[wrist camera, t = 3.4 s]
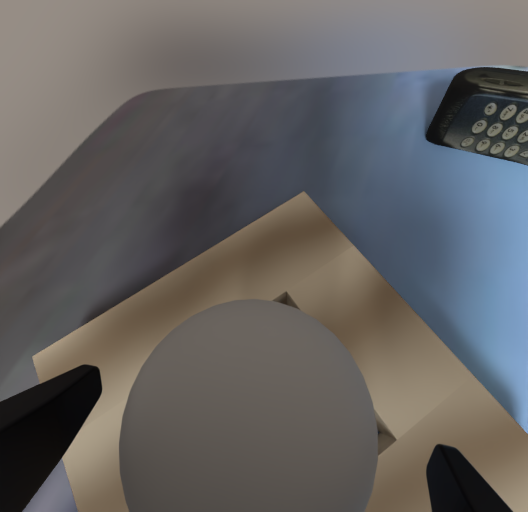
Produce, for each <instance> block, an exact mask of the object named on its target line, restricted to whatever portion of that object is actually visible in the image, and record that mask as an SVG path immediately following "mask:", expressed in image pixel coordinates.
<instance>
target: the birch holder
mask: <svg viewBox="0 0 528 512" xmlns="http://www.w3.org/2000/svg"><path fill="white" fill-rule="evenodd" d="M247 299H259V300H267V301H275V302H279V303H282V304H285V305H288V306H291V307H294V308H297V309H299V310H301V311H302V312H304V313H306V314H308V315H310V316H311V317H313V318H315V319H317V320H318V321H319V322H320V323H321V324H323V325H324V326H325V327H326V328H328V329H329V330H330V331H331V332H332V333H334V334H335V336H336V337H337V338H338V339H339V340H340V342H341V343H342V344H343V345H344V346H345V347H346V349H347V350H348V351H349V352H350V354H351V355H352V357H353V359H354V361H355V362H356V364H357V366H358V368H359V369H360V371H361V373H362V375H363V377H364V379H365V382H366V385H367V388H368V390H369V393H370V396H371V399H372V401H373V407H374V412H375V418H376V424H377V429H378V431H379V432H380V433H379V434H378V462H377V468H376V473H375V479H374V485H373V490H372V494H371V496H370V499H369V501H368V504H367V507H366V509H365V512H432V509H431V503H430V497H429V490H428V484H427V478H426V467H427V464H428V461H429V459H430V456H431V454H432V452H433V449H434V447H435V445H437V444H444V445H448V446H453V447H455V448H457V449H458V450H459V451H460V452H461V453H462V454H463V455H464V457H465V458H466V459H467V460H468V461H469V462H470V463H471V464H472V466H473V467H474V468H475V469H476V470H477V471H478V472H479V473H480V475H481V476H482V477H483V478H484V479H485V480H486V481H487V483H488V484H489V485H490V486H491V487H492V488H493V489H494V490H495V492H496V493H497V494H498V495H499V496H500V497H501V498H502V499H503V501H504V502H505V503H506V504H507V505H508V506H509V507H510V508H511V510H512V511H513V512H528V434H527V433H526V432H525V431H524V430H523V428H522V427H521V426H520V425H519V424H518V423H517V422H516V421H515V420H514V419H513V418H512V417H511V415H510V414H509V413H508V412H507V411H506V410H505V409H504V408H503V407H502V406H501V405H500V404H499V402H498V401H497V400H496V399H495V398H494V397H493V396H492V395H491V394H490V393H489V392H488V390H487V389H486V388H485V387H484V386H483V385H482V384H481V383H480V382H479V381H478V380H477V379H476V377H475V376H474V375H473V374H472V373H471V372H470V371H469V370H468V369H467V368H466V367H465V366H464V364H463V363H462V362H461V361H460V360H459V359H458V358H457V357H456V356H455V355H454V354H453V352H452V351H451V350H450V349H449V348H448V347H447V346H446V345H445V344H444V343H443V342H442V341H441V339H440V338H439V337H438V336H437V335H436V334H435V333H434V332H433V331H432V330H431V329H430V328H429V326H428V325H427V324H426V323H425V322H424V321H423V320H422V319H421V318H420V317H419V316H418V314H417V313H416V312H415V311H414V310H413V309H412V308H411V307H410V306H409V305H408V304H407V303H406V301H405V300H404V299H403V298H402V297H401V296H400V295H399V294H398V293H397V292H396V291H395V290H394V288H393V287H392V286H391V285H390V284H389V283H388V282H387V281H386V280H385V279H384V278H383V276H382V275H381V274H380V273H379V272H378V271H377V270H376V269H375V268H374V267H373V266H372V265H371V263H370V262H369V261H368V260H367V259H366V258H365V257H364V256H363V255H362V254H361V253H360V252H359V250H358V249H357V248H356V247H355V246H354V245H353V244H352V243H351V242H350V241H349V240H348V238H347V237H346V236H345V235H344V234H343V233H342V232H341V231H340V230H339V229H338V228H337V227H336V225H335V224H334V223H333V222H332V221H331V220H330V219H329V218H328V217H327V216H326V215H325V214H324V212H323V211H322V210H321V209H320V208H319V207H318V206H317V205H316V204H315V203H314V202H313V200H312V199H311V198H310V197H309V196H308V195H307V194H306V193H305V192H304V191H303V192H302V193H300V194H299V195H297V196H295V197H294V198H292V199H290V200H289V201H287V202H285V203H284V204H282V205H280V206H279V207H277V208H276V209H274V210H272V211H271V212H269V213H267V214H266V215H264V216H262V217H261V218H259V219H257V220H256V221H254V222H253V223H251V224H249V225H248V226H246V227H244V228H243V229H241V230H239V231H238V232H236V233H235V234H233V235H231V236H230V237H228V238H226V239H225V240H223V241H221V242H220V243H218V244H216V245H215V246H213V247H212V248H210V249H208V250H207V251H205V252H203V253H202V254H200V255H198V256H197V257H195V258H193V259H192V260H190V261H189V262H187V263H185V264H184V265H182V266H180V267H179V268H177V269H175V270H174V271H172V272H170V273H169V274H167V275H166V276H164V277H162V278H161V279H159V280H157V281H156V282H154V283H152V284H151V285H149V286H147V287H146V288H144V289H143V290H141V291H139V292H138V293H136V294H134V295H133V296H131V297H129V298H128V299H126V300H124V301H123V302H121V303H120V304H118V305H116V306H115V307H113V308H111V309H110V310H108V311H106V312H105V313H103V314H102V315H100V316H98V317H97V318H95V319H93V320H92V321H90V322H88V323H87V324H85V325H83V326H82V327H80V328H79V329H77V330H75V331H74V332H72V333H70V334H69V335H67V336H65V337H64V338H62V339H60V340H59V341H57V342H56V343H54V344H52V345H51V346H49V347H47V348H46V349H44V350H42V351H41V352H39V353H37V354H36V355H34V356H33V357H32V358H33V361H34V365H35V368H36V371H37V375H38V378H39V381H40V384H41V383H43V382H45V381H47V380H50V379H52V378H54V377H56V376H58V375H61V374H63V373H65V372H67V371H69V370H72V369H74V368H76V367H78V366H80V365H83V364H88V365H93V366H97V367H98V368H99V369H100V374H101V381H102V394H101V396H100V398H99V400H98V401H97V403H96V405H95V406H94V408H93V410H92V411H91V413H90V414H89V416H88V418H87V419H86V421H85V423H84V424H83V426H82V427H81V429H80V431H79V432H78V434H77V435H76V437H75V439H74V440H73V442H72V444H71V445H70V447H69V448H68V450H67V451H66V453H65V454H64V455H63V457H62V459H63V462H64V465H65V469H66V472H67V476H68V479H69V482H70V486H71V489H72V492H73V496H74V499H75V502H76V506H77V509H78V512H130V511H129V509H128V506H127V504H126V501H125V496H124V491H123V486H122V481H121V477H120V465H119V439H120V431H121V424H122V416H123V413H124V409H125V406H126V403H127V399H128V396H129V393H130V390H131V388H132V385H133V383H134V381H135V379H136V377H137V375H138V373H139V371H140V369H141V367H142V365H143V364H144V363H145V361H146V360H147V358H148V357H149V356H150V354H151V353H152V351H153V350H154V348H155V347H156V346H157V345H158V344H159V343H160V342H161V341H162V340H163V339H164V338H165V337H166V336H167V335H168V334H169V333H170V332H171V331H172V330H173V329H174V328H175V327H177V326H178V325H180V324H181V323H183V322H184V321H185V320H187V319H188V318H190V317H191V316H193V315H195V314H197V313H199V312H201V311H203V310H206V309H208V308H210V307H212V306H215V305H218V304H222V303H226V302H230V301H234V300H247Z"/></svg>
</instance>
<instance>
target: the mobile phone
mask: <svg viewBox="0 0 528 512" xmlns="http://www.w3.org/2000/svg"><path fill="white" fill-rule="evenodd" d="M426 139H427V140H428V141H429V142H432V143H434V144H437V145H441V146H446V147H451V148H455V149H459V150H464V151H468V152H473V153H477V154H482V155H486V156H490V157H495V158H499V159H504V160H508V161H513V162H517V163H521V164H524V165H528V72H527V71H519V70H511V69H503V68H492V67H479V68H472V69H467V70H464V71H462V72H460V73H458V74H456V75H455V76H454V78H453V80H452V82H451V84H450V86H449V87H448V89H447V91H446V93H445V96H444V98H443V100H442V102H441V104H440V106H439V108H438V110H437V112H436V114H435V116H434V118H433V120H432V122H431V124H430V126H429V128H428V130H427V134H426Z"/></svg>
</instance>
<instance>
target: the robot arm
mask: <svg viewBox="0 0 528 512" xmlns="http://www.w3.org/2000/svg"><path fill="white" fill-rule="evenodd" d="M101 394H102V381H101V374H100V369H99V368H98V367H97V366H93V365H88V364H83V365H80V366H78V367H76V368H74V369H72V370H69V371H67V372H65V373H63V374H61V375H58V376H56V377H54V378H52V379H50V380H47V381H45V382H43V383H41V384H39V385H36V386H34V387H32V388H30V389H28V390H25V391H23V392H21V393H19V394H17V395H14V396H12V397H10V398H8V399H6V400H3V401H1V402H0V512H22V511H23V510H24V508H25V507H26V506H27V504H28V503H29V502H30V500H31V499H32V498H33V496H34V495H35V494H36V492H37V491H38V489H39V488H40V487H41V485H42V484H43V483H44V481H45V480H46V479H47V477H48V476H49V475H50V473H51V472H52V471H53V469H54V468H55V466H56V465H57V464H58V462H59V461H60V460H61V458H62V457H63V455H64V454H65V453H66V451H67V450H68V448H69V447H70V445H71V444H72V442H73V440H74V439H75V437H76V435H77V434H78V432H79V431H80V429H81V427H82V426H83V424H84V423H85V421H86V419H87V418H88V416H89V414H90V413H91V411H92V410H93V408H94V406H95V405H96V403H97V401H98V400H99V398H100V396H101ZM426 478H427V484H428V490H429V497H430V503H431V509H432V512H513V511H512V510H511V508H510V507H509V506H508V505H507V504H506V503H505V502H504V501H503V499H502V498H501V497H500V496H499V495H498V494H497V493H496V492H495V490H494V489H493V488H492V487H491V486H490V485H489V484H488V483H487V481H486V480H485V479H484V478H483V477H482V476H481V475H480V473H479V472H478V471H477V470H476V469H475V468H474V467H473V466H472V464H471V463H470V462H469V461H468V460H467V459H466V458H465V457H464V455H463V454H462V453H461V452H460V451H459V450H458V449H457V448H455V447H453V446H448V445H444V444H437V445H435V447H434V449H433V452H432V454H431V456H430V459H429V461H428V464H427V467H426Z"/></svg>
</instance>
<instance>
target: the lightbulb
mask: <svg viewBox="0 0 528 512" xmlns="http://www.w3.org/2000/svg"><path fill="white" fill-rule="evenodd" d="M377 462H378V429H377V424H376V418H375V412H374V407H373V401H372V399H371V396H370V393H369V390H368V388H367V385H366V382H365V379H364V377H363V375H362V373H361V371H360V369H359V368H358V366H357V364H356V362H355V361H354V359H353V357H352V355H351V354H350V352H349V351H348V350H347V349H346V347H345V346H344V345H343V344H342V343H341V342H340V340H339V339H338V338H337V337H336V336H335V334H334V333H332V332H331V331H330V330H329V329H328V328H326V327H325V326H324V325H323V324H321V323H320V322H319V321H318V320H317V319H315V318H313V317H311V316H310V315H308V314H306V313H304V312H302V311H301V310H299V309H297V308H294V307H291V306H288V305H285V304H282V303H279V302H275V301H267V300H259V299H247V300H234V301H230V302H226V303H222V304H218V305H215V306H212V307H210V308H208V309H206V310H203V311H201V312H199V313H197V314H195V315H193V316H191V317H190V318H188V319H187V320H185V321H184V322H183V323H181V324H180V325H178V326H177V327H175V328H174V329H173V330H172V331H171V332H170V333H169V334H168V335H167V336H166V337H165V338H164V339H163V340H162V341H161V342H160V343H159V344H158V345H157V346H156V347H155V348H154V350H153V351H152V353H151V354H150V356H149V357H148V358H147V360H146V361H145V363H144V364H143V365H142V367H141V369H140V371H139V373H138V375H137V377H136V379H135V381H134V383H133V385H132V388H131V390H130V393H129V396H128V399H127V403H126V406H125V409H124V413H123V416H122V424H121V431H120V439H119V465H120V477H121V481H122V486H123V491H124V496H125V501H126V504H127V506H128V509H129V511H130V512H365V509H366V507H367V504H368V501H369V499H370V496H371V494H372V490H373V485H374V479H375V473H376V468H377Z"/></svg>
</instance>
